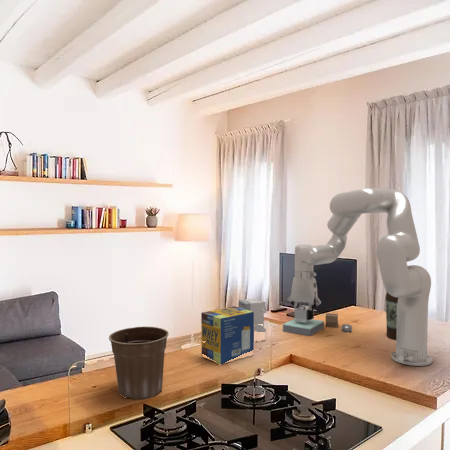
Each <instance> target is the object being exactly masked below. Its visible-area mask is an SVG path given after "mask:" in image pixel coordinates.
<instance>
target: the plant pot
mask: <svg viewBox="0 0 450 450" xmlns="http://www.w3.org/2000/svg"><path fill="white" fill-rule="evenodd" d="M168 337H169V331H168V330H166V329H164V328H162V327H156V326H135V327H128V328H122V329H119V330H116V331H114V332H112V333H111V334H109V337H108V340H109V341H110V343H111V344H110V345H111V351H112V353H113V358H114V359H113V360H114V365H115V366H114V367H115V375H116V383H117V390H118V391H119V392H118V394H119V393H120V394H121V395H122V396H124V397H126V398H125V399H128V398H131V399H132V400H146V399H150V398H153V397H155V396H157V395H158V394H159V393H160V392H162V390H163V381H164V379H163V377H164V368H165V367H164V365H165V354H166V353H165V351H166V348H167V341H168V340H167V339H168ZM120 394H119V395H120ZM122 396H121V397H122ZM124 397H123V398H124Z"/></svg>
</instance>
